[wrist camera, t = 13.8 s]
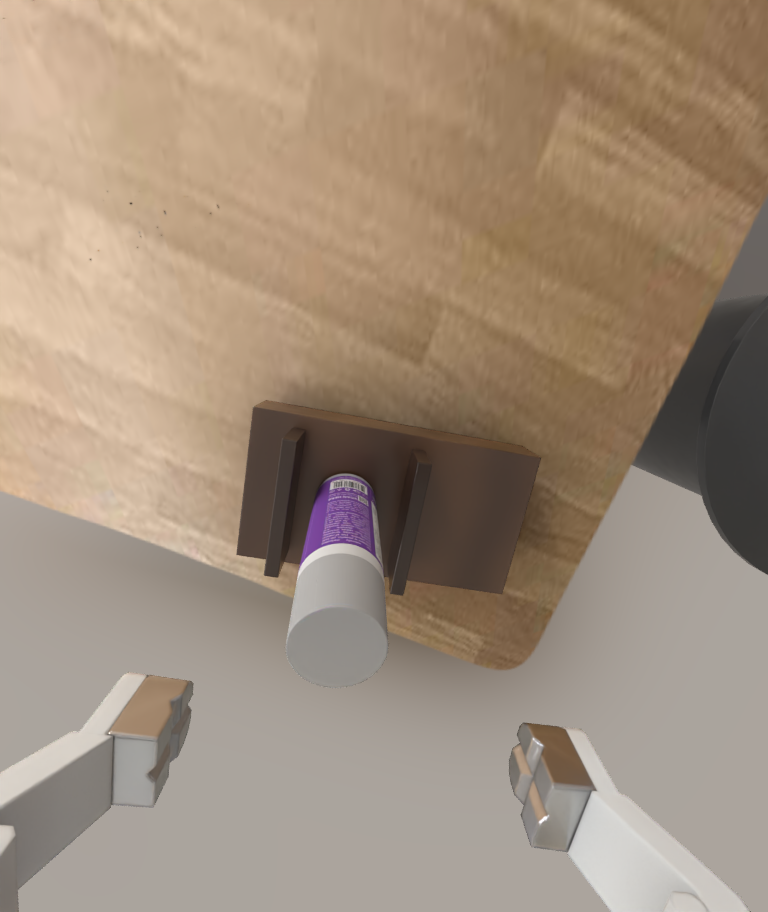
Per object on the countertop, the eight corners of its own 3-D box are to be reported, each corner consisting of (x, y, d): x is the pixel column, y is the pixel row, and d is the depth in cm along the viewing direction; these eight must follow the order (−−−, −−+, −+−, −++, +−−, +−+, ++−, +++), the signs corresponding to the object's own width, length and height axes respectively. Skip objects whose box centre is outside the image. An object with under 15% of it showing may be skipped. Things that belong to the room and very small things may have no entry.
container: (301, 500, 32) (259, 650, 18) (346, 460, 31) (338, 584, 17) (344, 539, 33) (336, 707, 19) (388, 501, 33) (413, 648, 18)
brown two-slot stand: (522, 446, 36) (565, 472, 28) (488, 570, 39) (519, 625, 31) (265, 400, 34) (236, 415, 27) (249, 533, 37) (219, 582, 29)
